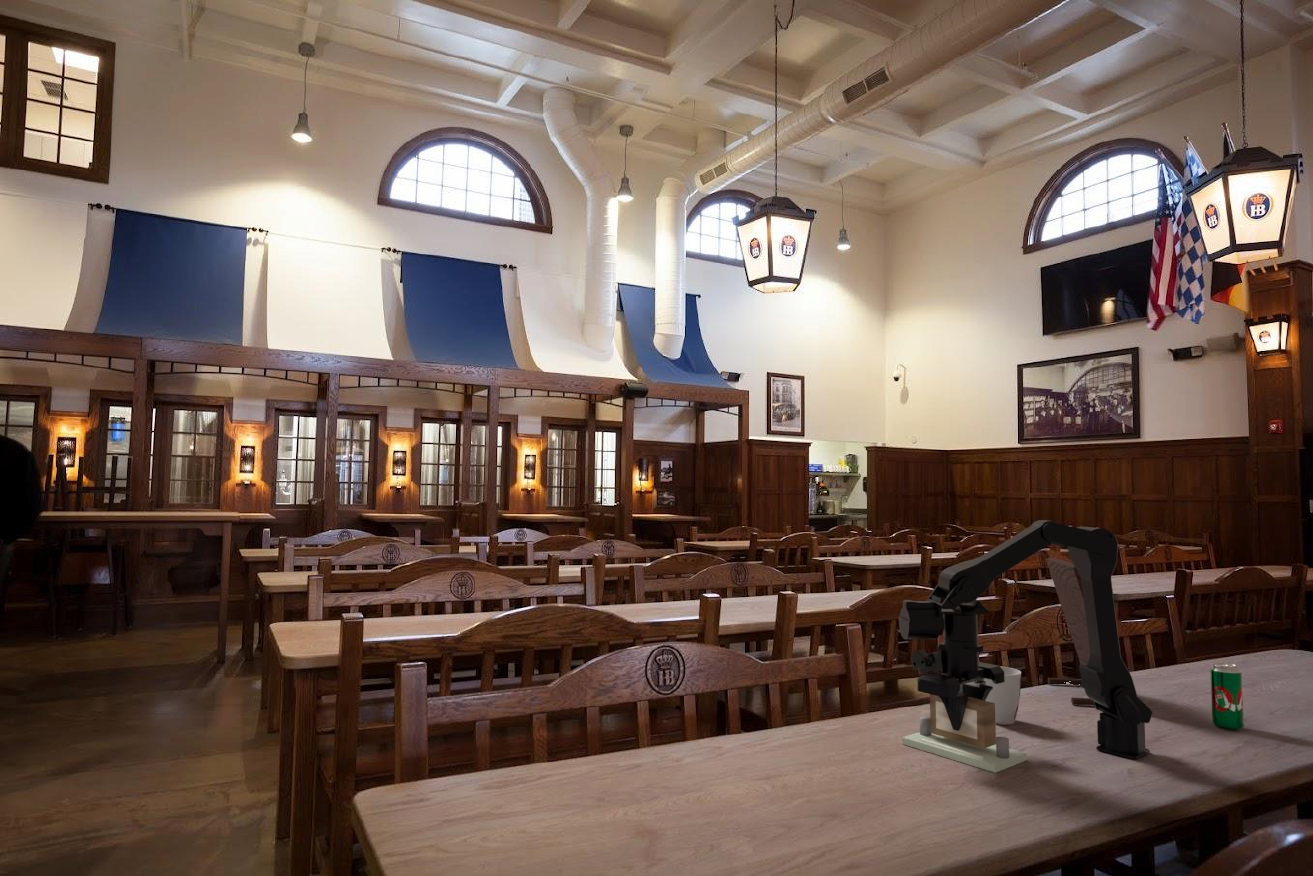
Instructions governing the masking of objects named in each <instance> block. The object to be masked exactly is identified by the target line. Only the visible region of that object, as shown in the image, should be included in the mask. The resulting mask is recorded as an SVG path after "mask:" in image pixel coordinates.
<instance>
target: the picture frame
mask: <svg viewBox="0 0 1313 876" xmlns="http://www.w3.org/2000/svg"><path fill="white" fill-rule="evenodd" d="M1045 561H1046V563H1047V564H1046V565H1047V567H1048V569H1049V573H1050V576H1051V578H1052V583H1053V585H1054V588H1055V590H1056V595H1057V597H1058V600H1059V604H1060V606H1061V609H1062V612H1063V615H1064V619H1065V622H1066V624H1067V627H1068V630H1069V633H1070V636H1071V640H1072V642H1073V644H1074V646H1073V647H1074V648H1075V652H1076V655H1077V657H1078V661H1079V663H1080V664H1079V665H1085V666H1087V663H1088V661H1089V659H1090V647H1089V639H1088V631H1087V622H1086V614H1085V606H1084V598H1083V590H1082V582H1081V577H1080V575H1079V573H1078V571H1077V569H1076V568H1075V566H1074V564H1073V563H1072V562H1069V561H1066V560H1063V559H1059V558H1057V557H1053V556H1052V557H1048V558H1045ZM1069 681H1071V682H1069ZM1064 682H1065V683H1064ZM1066 682H1069V683H1070V684H1073V685H1072V686H1080V685H1081V678H1062V677H1061V678H1060V677H1047V684H1048V685H1059V684H1066ZM1079 684H1080V685H1079ZM1070 702H1071V705H1075V704H1076V705H1078V706H1079V705H1080V706H1095V705H1094V703H1093V700H1091V699H1090V698H1089V697H1071V698H1070Z"/></svg>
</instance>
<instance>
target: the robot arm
mask: <svg viewBox="0 0 1313 876" xmlns="http://www.w3.org/2000/svg"><path fill="white" fill-rule="evenodd" d="M1118 542H1119V541H1118V539H1117V537H1116V535H1115V534H1114V533H1112V532H1111V530H1108V529H1106V528H1104V527H1103V528H1100V527H1090V526H1077V527H1076V526H1075V527H1074V526H1069V525H1064V524H1062V523H1059V522H1058V523H1057V522H1056V521H1053V520H1045V519H1039V520H1036V521H1034V522H1033V523H1032V524H1031V525H1030V526H1029V527H1027V528H1025V529H1024V530H1022V531H1020V532H1019V533H1017V534H1015V535H1014V536H1012V537H1010V538H1009V539H1007V540H1005V541H1003V542H1002V543H1001V544H999V545H997V546H995V547H994V548H992V549H991V550H989V551H988V552H986V553H984V554H982V555H981V556H979V557H975V558H972V559H969V560H965V561H962V562H960V563H957V564H953V565H951V566H949V567H946V568H945V569H944V570H942V571H941V572H940V574H939V577H938V581H937V582H938V583H937V585H935V587H934V589H933V590H932V591H931V593H930V594H929V596H928V597H927V598H926V600H925V601H924V600H923V601H922V600H911V599H904V600H902V607H901V609H900V611H899V612H900V613H899V616H898V626H899V632H900V635H901V638H903V640H937V639H939V637H940V636H943V642H941V643H938V645H937V651H935V652H930V653H927V651H926V650H925V649H918V650H916V651H915V650H914V651H912V653H911V659H910V660H911V666H912V667H913V669H914V670H917V671H918V674H919V675H920V676H919V677H918V678H917V679H916V691H917V692H919V693H923V694H928V695H930V694H932V695H936V696H939V697H940V698H941V700H942V702H943V704H944V706H945V709H946V711H947V714H948V717H949V720H950V722H951V725H952V728H953V730H956V731H959V730H960V727H961V724H962V721H963V717H964V713H965V709H966V704H967V701H968V697H970V698H975V699H979V700H983V701H985V700H986V698H987V696H988V694H989V693H990V691H991V690H993V687H992V686H988V685H986V681H984V678H986V679H991V680H992V681H993V683H994V684H999V683H1003V682H1005V681H1004V671H1003V670H1002V668H1001V667H1002V666H1001V667H1000V665H998V664H992V663H986V662H981V661H979V653H982V652H984V645H981V644H979V636H978V634H979V633H978V632H979V631H978V630H979V629H978V615H989V614H990V610H989V609H988V608H987V607H986V606H984V605H983V603H982V602H981V600H978V598H979V597H980V596H981V595H983V594H984V593H985V592H986V591H987V590H988V589H989V588H990V586H991V585H992V583H994V580H996V579H997V578H998V577H1000V575H1002V574H1004V573H1005V572H1007V571H1008V570H1010V569H1012V568H1014V567H1015V566H1018V564H1020V563H1022V562H1024V561H1025V560H1027V559H1029V558H1030V557H1032V556H1033V555H1035V554H1036V553H1038V552H1039V551H1041V550H1043V549H1044V548H1046V547H1048V546H1050V545H1054V546H1057V547H1061V548H1065V549H1067V550H1068V554H1069V557H1070V561H1071V563H1073V564H1074V566H1075V568H1076V569H1077V571H1078V573H1079V575H1080V577H1081V582H1082V590H1083V598H1084V606H1085V614H1086V622H1087V631H1088V639H1089V647H1090V659H1089V661H1088V663H1087V666H1085V665H1081V664H1079V665H1078V670H1079V674H1080V679H1081V685H1079V687H1080V688H1082V689H1084V692H1085V695H1086V696H1087V698H1090V699H1091V700H1093V703H1094V705H1093V706H1094V709H1096V710H1097V711H1100V713H1099V719H1098V720H1097V722H1096V726H1097V727H1096V730H1097V743H1098V745H1097V746H1096V751H1100V752H1103V753H1108V754H1112V755H1116V756H1120V757H1125V758H1128V759H1132V760H1137V759H1139V758H1141V757H1144V756H1145V755H1147V754H1150V753H1151V750H1150V749H1149V748H1146V747H1147V746H1146V726H1145V724H1149V723H1150V722H1151V719H1152V716H1153V710H1152V709H1151V708H1150V707H1149V706H1148V705H1147V704H1145V703H1144V702H1143V701H1142V699H1140V698H1139V697H1138V694H1137V690H1136V687H1135V684H1134V679H1133V676H1132V674H1131V673H1130V671H1129V669H1128V667H1127V665H1126V663H1124V661H1123V658H1122V654H1121V646H1120V640H1119V639H1120V638H1119V637H1120V636H1119V631H1118V622H1117V615H1116V608H1115V599H1114V591H1113V584H1112V583H1113V582H1112V576H1113V574H1114V571H1115V568H1116V566H1117V563H1118V552H1119V550H1118V549H1119V543H1118ZM934 671H935V672H934ZM926 672H928V673H926Z"/></svg>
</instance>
